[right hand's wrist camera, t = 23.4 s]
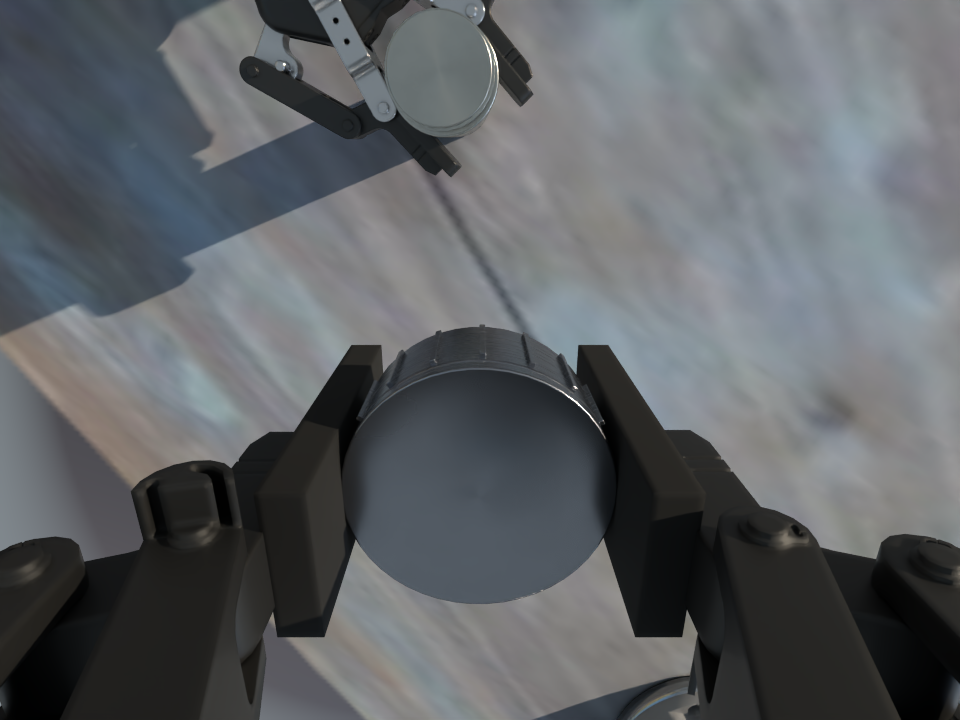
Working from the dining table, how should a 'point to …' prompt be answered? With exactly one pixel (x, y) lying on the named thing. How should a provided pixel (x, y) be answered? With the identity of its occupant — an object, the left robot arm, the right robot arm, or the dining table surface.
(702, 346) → the dining table surface
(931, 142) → the dining table surface
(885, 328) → the dining table surface
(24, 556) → the right robot arm
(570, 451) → the lid
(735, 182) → the dining table surface
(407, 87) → the silver metal cylinder
